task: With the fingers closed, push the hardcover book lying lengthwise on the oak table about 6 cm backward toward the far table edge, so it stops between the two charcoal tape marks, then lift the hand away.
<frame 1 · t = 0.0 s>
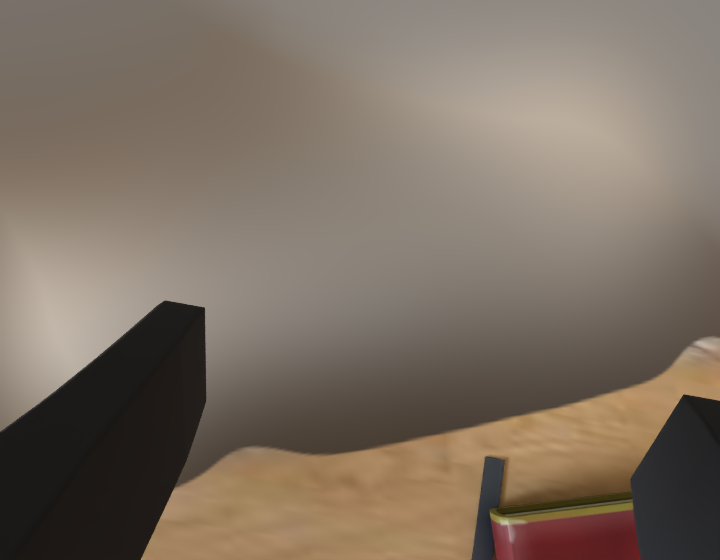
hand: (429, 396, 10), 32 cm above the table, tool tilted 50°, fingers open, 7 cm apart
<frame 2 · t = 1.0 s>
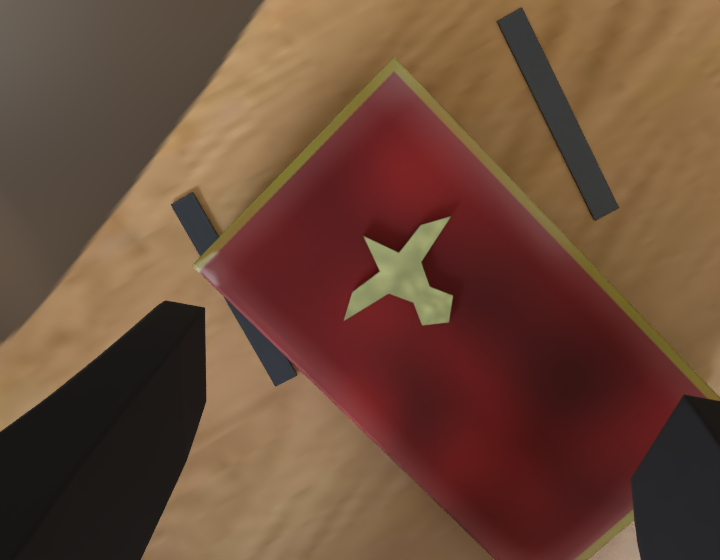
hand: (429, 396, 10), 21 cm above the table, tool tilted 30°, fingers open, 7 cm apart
hardcover book: (456, 326, 31), on the table, touching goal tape
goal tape: (392, 206, 30), on the table
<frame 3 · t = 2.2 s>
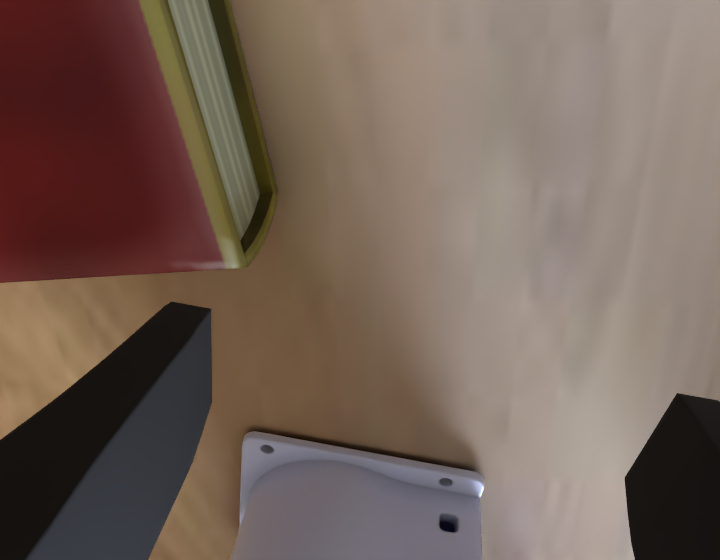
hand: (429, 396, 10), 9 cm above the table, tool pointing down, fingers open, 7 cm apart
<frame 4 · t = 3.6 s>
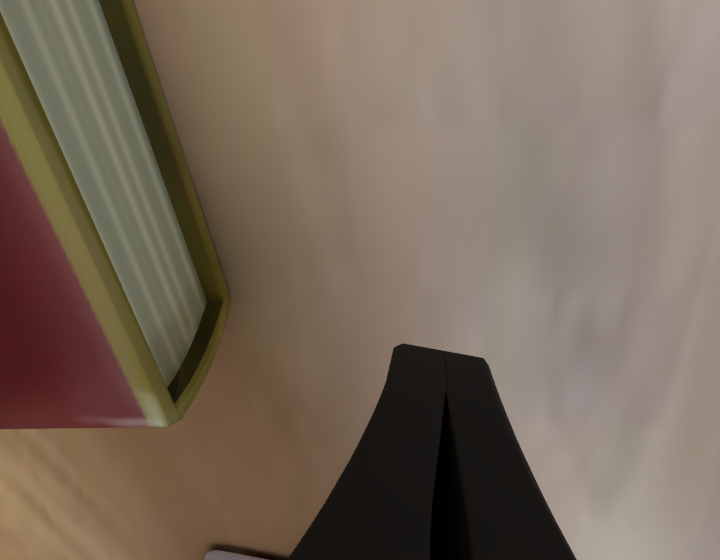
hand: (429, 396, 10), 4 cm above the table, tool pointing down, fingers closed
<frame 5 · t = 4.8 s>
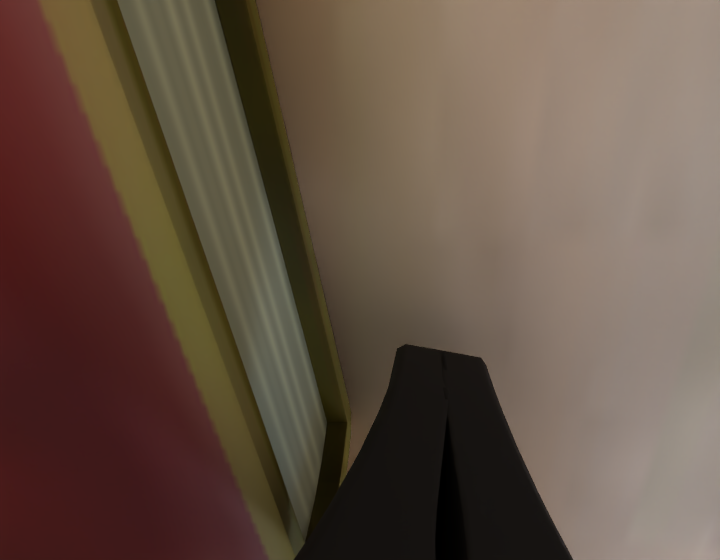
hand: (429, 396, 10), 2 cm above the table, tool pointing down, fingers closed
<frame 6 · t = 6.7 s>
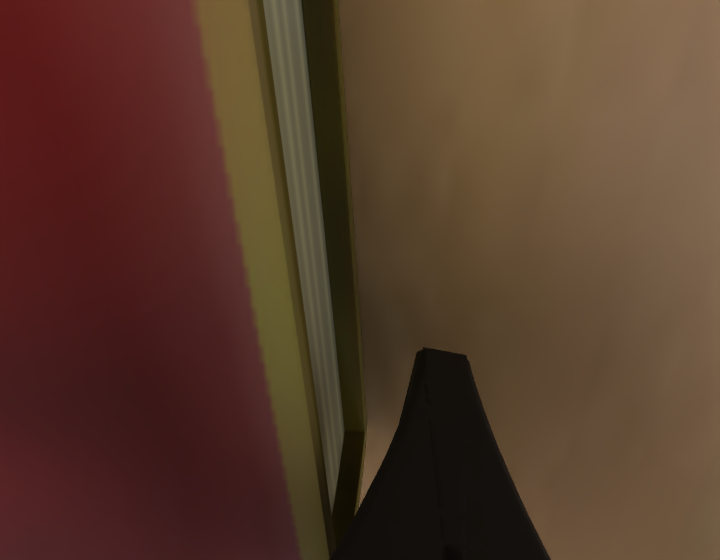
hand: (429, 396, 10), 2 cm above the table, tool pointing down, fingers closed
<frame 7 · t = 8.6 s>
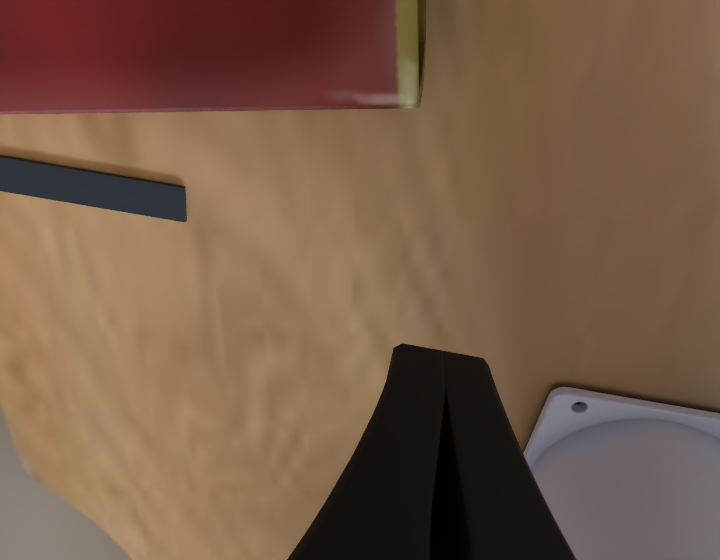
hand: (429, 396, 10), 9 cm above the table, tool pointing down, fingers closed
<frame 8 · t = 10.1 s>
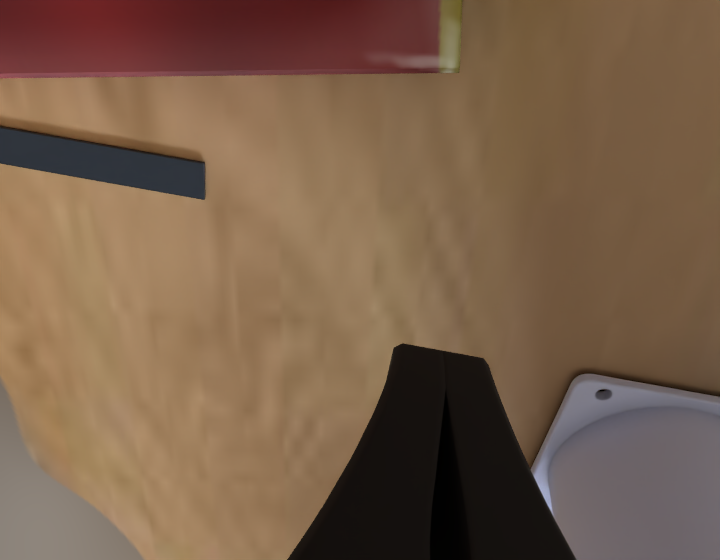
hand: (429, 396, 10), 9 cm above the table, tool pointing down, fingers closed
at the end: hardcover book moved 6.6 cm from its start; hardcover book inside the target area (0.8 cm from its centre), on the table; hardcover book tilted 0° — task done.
